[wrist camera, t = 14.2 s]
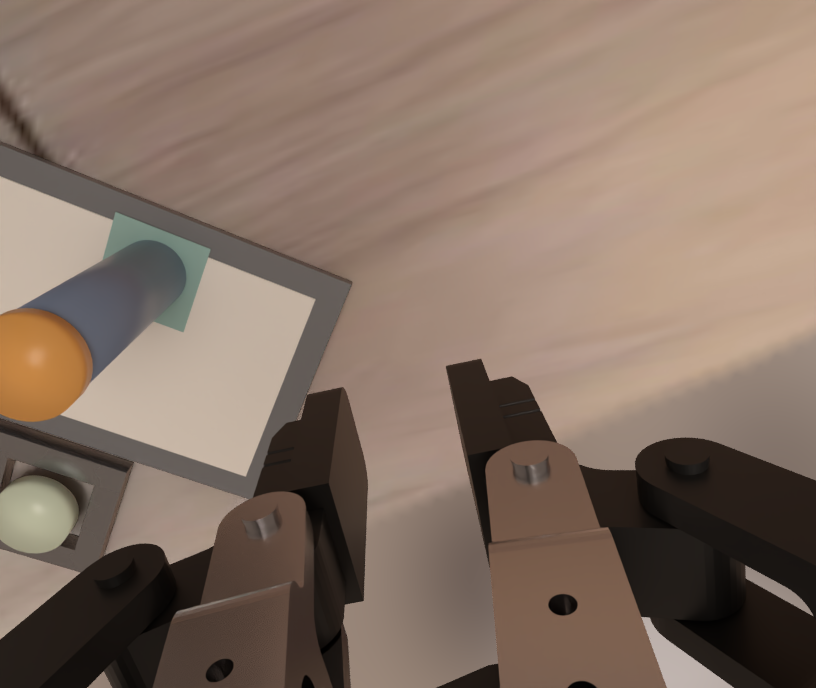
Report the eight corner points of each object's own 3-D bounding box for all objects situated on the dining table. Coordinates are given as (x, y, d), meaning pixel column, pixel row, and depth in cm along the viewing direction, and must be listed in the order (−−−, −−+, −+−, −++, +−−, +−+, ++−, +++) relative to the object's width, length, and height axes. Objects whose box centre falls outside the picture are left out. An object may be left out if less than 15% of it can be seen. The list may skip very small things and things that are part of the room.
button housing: (-28, 524, 40) (-40, 536, 39) (-3, 417, 38) (-15, 427, 37) (101, 563, 42) (93, 575, 41) (133, 462, 39) (126, 473, 38)
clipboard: (-74, 386, 37) (-89, 396, 36) (-24, 131, 32) (-40, 133, 31) (263, 497, 40) (259, 510, 39) (351, 281, 36) (351, 288, 35)
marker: (106, 292, 35) (-47, 400, 22) (124, 227, 34) (-26, 299, 21) (176, 318, 35) (66, 436, 23) (197, 254, 34) (92, 341, 22)
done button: (-5, 524, 39) (-19, 539, 38) (9, 465, 37) (-4, 478, 36) (69, 547, 40) (58, 562, 38) (86, 489, 38) (76, 503, 37)
